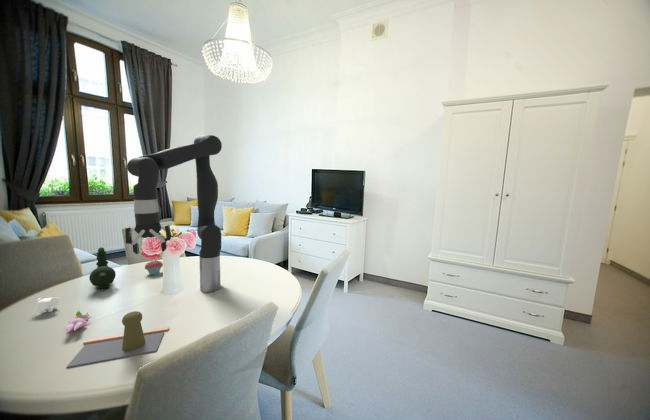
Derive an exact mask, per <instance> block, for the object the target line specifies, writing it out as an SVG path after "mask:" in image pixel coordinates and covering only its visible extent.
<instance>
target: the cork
mask: <svg viewBox="0 0 650 420" xmlns="http://www.w3.org/2000/svg"><path fill="white" fill-rule="evenodd" d="M142 320H143V314H142V312H141V311H139V310H138V311H136V310H135V311H130V312H128V313H126V314H125V315H124V316H123V317H122V319H121V323H122V325H123V326H124V329H123V334H124V337H123V338H122V339H123V346H122V350H123V351H133V350H136V349H139V348H140V347H142V346H143V345H144V344H145V338H144V335H145V334H143V331H144V330H143V327H142Z"/></svg>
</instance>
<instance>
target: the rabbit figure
mask: <svg viewBox="0 0 650 420" xmlns="http://www.w3.org/2000/svg"><path fill="white" fill-rule="evenodd" d="M91 318H92V316H90V315H89V313H88V312H87V313H86V314H85V313H83V314H82V312H81V311H80V310H78V311H76V314H75V318H74V319H72V320H68V324H67V325H66V326H65V331H66V332H67V333H69V332H71V330H73V331H77V330H79V329H81V328H82V327H84V326H86V324H87V323H88V321H87V320H90V319H91Z"/></svg>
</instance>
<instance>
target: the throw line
mask: <svg viewBox="0 0 650 420" xmlns="http://www.w3.org/2000/svg"><path fill="white" fill-rule="evenodd" d="M169 330H170V326H167V327H165V326H163V327H159V328H153V329H146V330H143V334H144V335H149V334H155V333H162V332H168V331H169ZM123 337H124V333H120V334H115V335H114V334H113V335H107V336H106V335H105V336H100V337H94V338H88V339H85V340H84V341H83V343H82V344H83V345H87V344H93V343H100V342H106V341H112V340H118V339H123Z"/></svg>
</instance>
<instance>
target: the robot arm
mask: <svg viewBox="0 0 650 420" xmlns="http://www.w3.org/2000/svg"><path fill="white" fill-rule="evenodd" d="M222 145H223V144H222V141H221V139H220V138H219V137H217V136H216V135H213V134H204V135H203V134H200V135H197V136H196V137H195V138H194V140H193V143H190V144H186V145H180V146H175V147H171V148H168V149H167V148H166V149H163V150H161V151H157V152H154V153H150V154H145V155H141V156H137V157H133V158H132V159H130V160H128V162H127V164H126V169H127V172H129V174H131V175H132V176H134V177H138V180H137V183H136V184H134V185H133V186H132V187H133V189H132V190H133V191H132V192H133V212H134V219H135V227H131V226H127V227H125V228H124V230H125V233H124V234H125V243H126V245H127V244H129V245H132V251H133V254H135V255H138V254H140V247H139V246H140V245H139V241H140V240H141V238H143V239H146V238H157V240H159V241H160V242H161V243H160V244H161V245H160V246H161V252H162V253H164V252H165V251H166V250H167V247H168V245H167V242H168V241H170V240H171V239H172V233H171V225H170V224H166V225H161V222H160V221H161V220H160V209H159V203H158V195H157V185H158V180H159V174H160V171H161V170H162V171H163V170H169V169H172V168H173V167H177V166H179V165H182V164H184V163H187V162H190V161H193V160H194V161H195V168H196V169H195V171H196V172H195V174H196V194H197V195H196V197H197V198H196V199H197V200H196V201H197V210H198V218H197V231H196V233H197V236H198V238H199V239H200V241H201V242H200V250H199V287H200V288H199V290H200V292H202V293H213V292H216V291H220V290H221V249H222V230H221V228H220V227H219V226H217V225H216V221H215V210H216V206H217V204H218V199H219V198H218V197H219V185H218V184H219V183H218V179H217V178H216V176H215V174H214V172H213V170H212V167H211V161H210V160H211V159H210V157H211V156H217V155H218V154H219V153H220V152H221V151H222V147H223V146H222ZM161 230H163V232H165V235H166V236H164V235H163V234H162V233H161V232H160V231H161ZM134 232H136V233H137V235H136V237H135V238H134V239H133V238H132V234H133V233H134Z"/></svg>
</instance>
